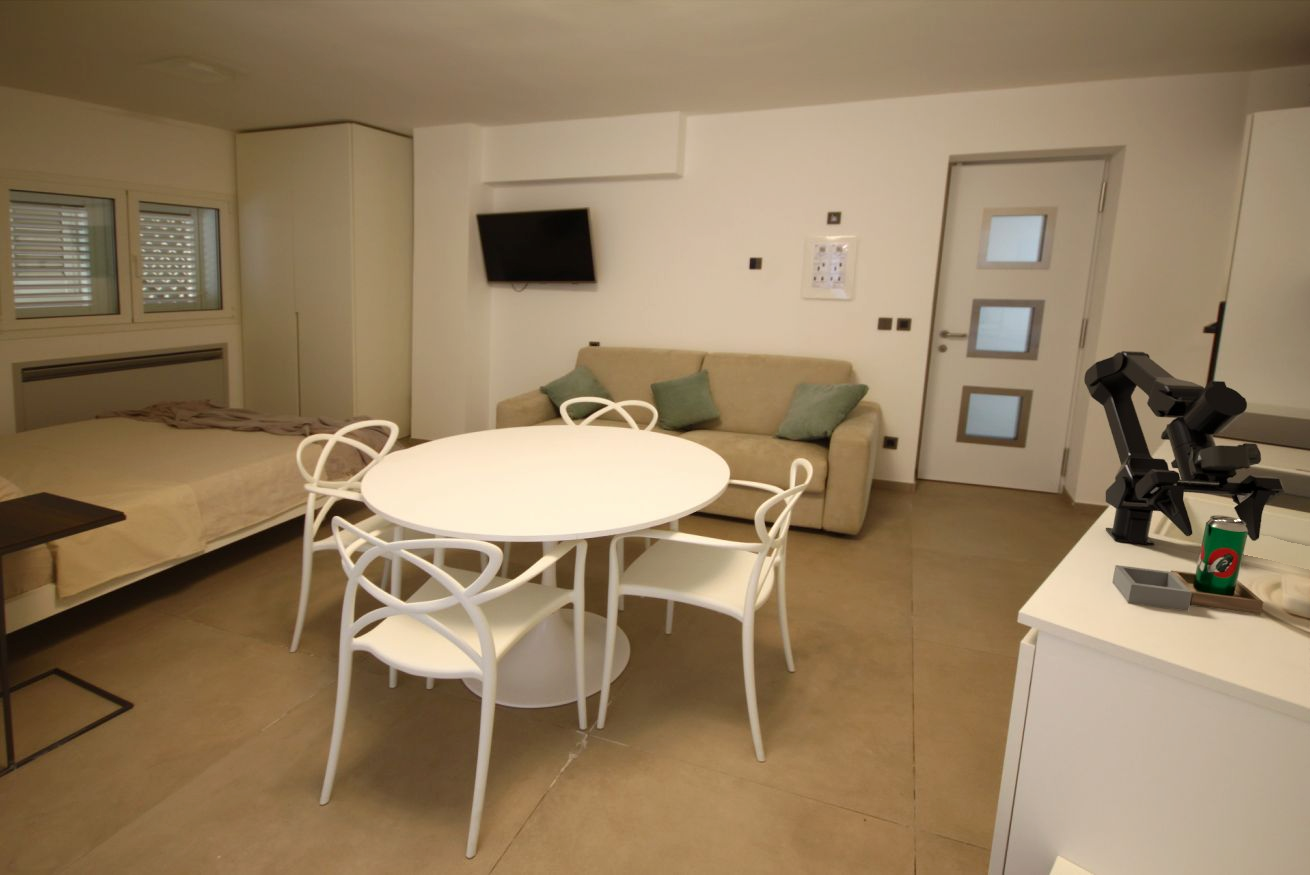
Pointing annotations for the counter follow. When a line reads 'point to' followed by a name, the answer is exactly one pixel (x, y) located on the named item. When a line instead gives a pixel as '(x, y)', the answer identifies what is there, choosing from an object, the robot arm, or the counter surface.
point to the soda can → (1220, 555)
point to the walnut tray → (1222, 597)
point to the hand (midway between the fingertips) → (1222, 537)
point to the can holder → (1151, 587)
